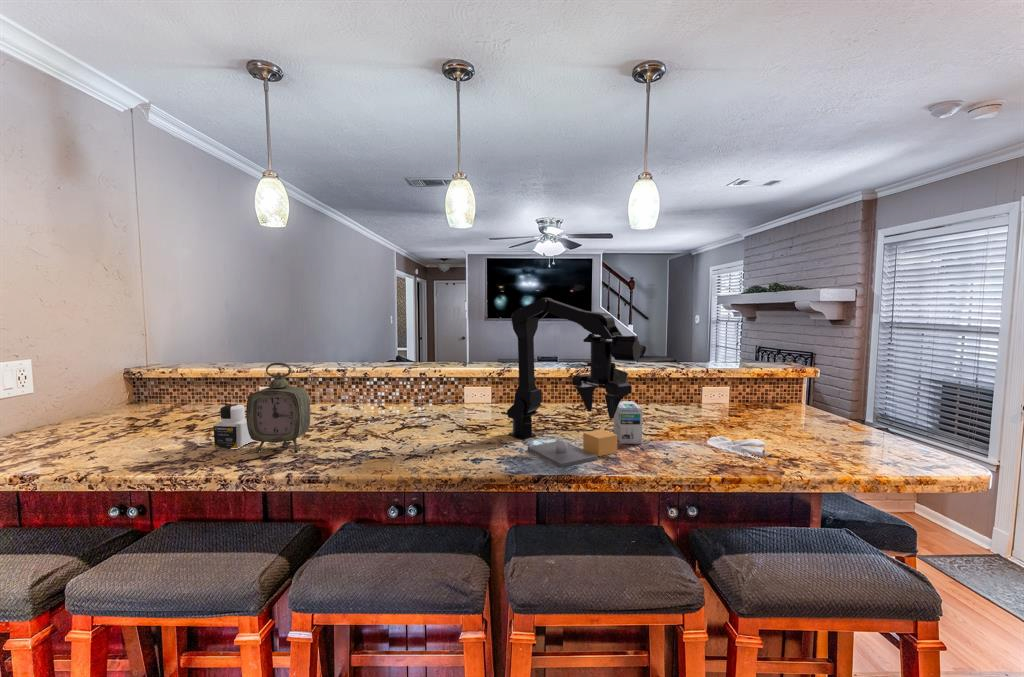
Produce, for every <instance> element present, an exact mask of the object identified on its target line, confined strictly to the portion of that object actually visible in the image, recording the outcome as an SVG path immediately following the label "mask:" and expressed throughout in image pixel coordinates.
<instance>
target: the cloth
mask: <svg viewBox="0 0 1024 677" xmlns="http://www.w3.org/2000/svg"><path fill="white" fill-rule="evenodd" d="M706 444H708V445H710V446H711V447H714V448H716V449H719V450H721V451H723V450H724V452H727V453H730V454H733V453H735V454H734V455H737V454H738V455H737V456H741V455H742V456H741V457H745V456H747V457H746V458H749V457H751V458H750V459H753V458H755V459H754V460H757V459H760V460H759V461H762V459H763V458H762V457H763V455H764V457H768V456H769V458H774V456H773V454H772V453H771V452H766V451H765V448H764V447H767V446H768V445H767V444H766V443H765V442H764V441H762V440H761V439H758V438H747V439H737V440H734V441H733V440H731V439H730V438H728V437H726V436H722V435H719V436H717V435H716V436H711V437H709V439H708V440H707V441H706ZM743 453H744V454H743ZM749 453H750V454H749ZM745 454H748V455H745ZM753 454H754V455H753ZM751 455H753V456H751ZM757 455H759V456H757ZM754 456H756V457H754ZM758 457H759V458H758ZM761 458H762V459H761Z"/></svg>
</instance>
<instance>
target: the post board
mask: <svg viewBox="0 0 1024 677" xmlns="http://www.w3.org/2000/svg"><path fill="white" fill-rule="evenodd" d="M527 451H529V452H530V453H532V454H534V455H536V456H538V457H540V458H542V459H544V460H545V461H547V462H548V463H551V464H553V465H555V466H557V467H559V468H561V469H562V468H566V467H567V468H568V467H571V466H575V465H579V464H583V463H584V462H585V463H588V462H589V463H590V462H594V461H598V460H599V457H598V456H597V455H595V454H592V453H590V452H588V451H586V450H583V448H581V447H579V446H576V445H574V444H572V443H569V442H568V439H565V438H557V439H556V441H552V442H546V443H541V444H536V445H530V446H527ZM597 459H598V460H597ZM593 460H594V461H593Z"/></svg>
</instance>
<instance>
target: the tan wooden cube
mask: <svg viewBox="0 0 1024 677" xmlns="http://www.w3.org/2000/svg"><path fill="white" fill-rule="evenodd" d="M582 440H583V441H582V442H583V443H582V447H583V448H582V449H583V450H586V451H588V452H590V453H592V454H595V455H597V456H600V457H604V456H608V454H609V455H613V454H618V439H617V435H616V434H614V432H610V431H607V430H605V429H602V428H601V429H596V430H590V431H585V432H583V435H582ZM612 453H613V454H612ZM603 455H604V456H603Z"/></svg>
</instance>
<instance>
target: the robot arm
mask: <svg viewBox="0 0 1024 677" xmlns="http://www.w3.org/2000/svg"><path fill="white" fill-rule="evenodd" d="M547 314H551V315H554V316H556V317H559V318H561V319H565V320H567V321H571V322H573V323H575V324H577V325H579V326H581V327H582V328H583V329H584V330H586V331H587V332H589V333H588V335H587V336H586V337H585V338H584V339H583V340H582V341H583V343H590V361H588V362H587V363H586V366H587V367H589V368H590V370H589V372H590V373H583V374H575V375H574V376H573V377H572V380H571V382H572V383H571V384H572V386H574V389H576V391H577V392H578V394H579V396H580V398H581V400H582V402H583V404H584V406H585V408H586V410H587V412H592V408H593V396H594V392H595V390H596V389H597V388H601V389H605V392H606V393H605V394H604V398H605V403H606V404H605V405H606V409H607V414H608V418H609V419H610V420H611V419H614V415H615V413H616V410H617V407H618V405H619V403H620V401H622V400H623V398H624V397H628V396H629V394H630V395H631V394H633V393H632V387H633V385H632V384H631V383H630V382H627V379H628V376H629V372H626V371H623V370H621V369H618V368H617V367H616V364H615V362H612V358H613V359H614V360H616V361H625V362H635V363H636V362H637V363H638V362H639V360H640V357H641V351H642V347H641V343H640V341H639V339H638V338H639V336H638V335H629V336H628V335H623V334H622V332H621V331H620V329H619V328H618V326H617V325H616V320H615V319H614V316H613V315H612V314H610V313H606V312H598V311H590V310H585V309H582V308H579V307H576V306H572V305H570V304H566V303H565V302H564V303H563V302H560V301H557V300H554V299H553V298H552V297H541V298H539V299H537V300H536V301H534V302H532V303H530V304H528V305H526V306H523V307H522V308H517V309H515V310H513V312H512V314H511V316H510V317H511V323H512V324H511V325H512V329H513V332H514V334H515V335H516V337H517V354H518V355H517V356H518V360H517V361H518V386H517V387H516V391H515V393H514V398H513V399H514V400H513V404H512V405H511V406H510V407H509V408H508V409H507V410H506V414H507V418H509V419H512V431H510V432H508V436H511V437H513V438H515V439H517V440H521V439H527V438H533V437H536V436H537V435H536V433H533V422H532V419H533V418H532V416H535V415H536V414H537V411H538V409H539V408H540V407H541V404H542V403H543V399H542V398H543V397H542V392H543V390H542V388H538V387H537V385H536V381H535V347H534V346H535V344H534V342H535V341H534V337H535V335H536V332H537V331H538V325H539V320H541V319H543V318H544V317H545V316H547Z"/></svg>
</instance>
